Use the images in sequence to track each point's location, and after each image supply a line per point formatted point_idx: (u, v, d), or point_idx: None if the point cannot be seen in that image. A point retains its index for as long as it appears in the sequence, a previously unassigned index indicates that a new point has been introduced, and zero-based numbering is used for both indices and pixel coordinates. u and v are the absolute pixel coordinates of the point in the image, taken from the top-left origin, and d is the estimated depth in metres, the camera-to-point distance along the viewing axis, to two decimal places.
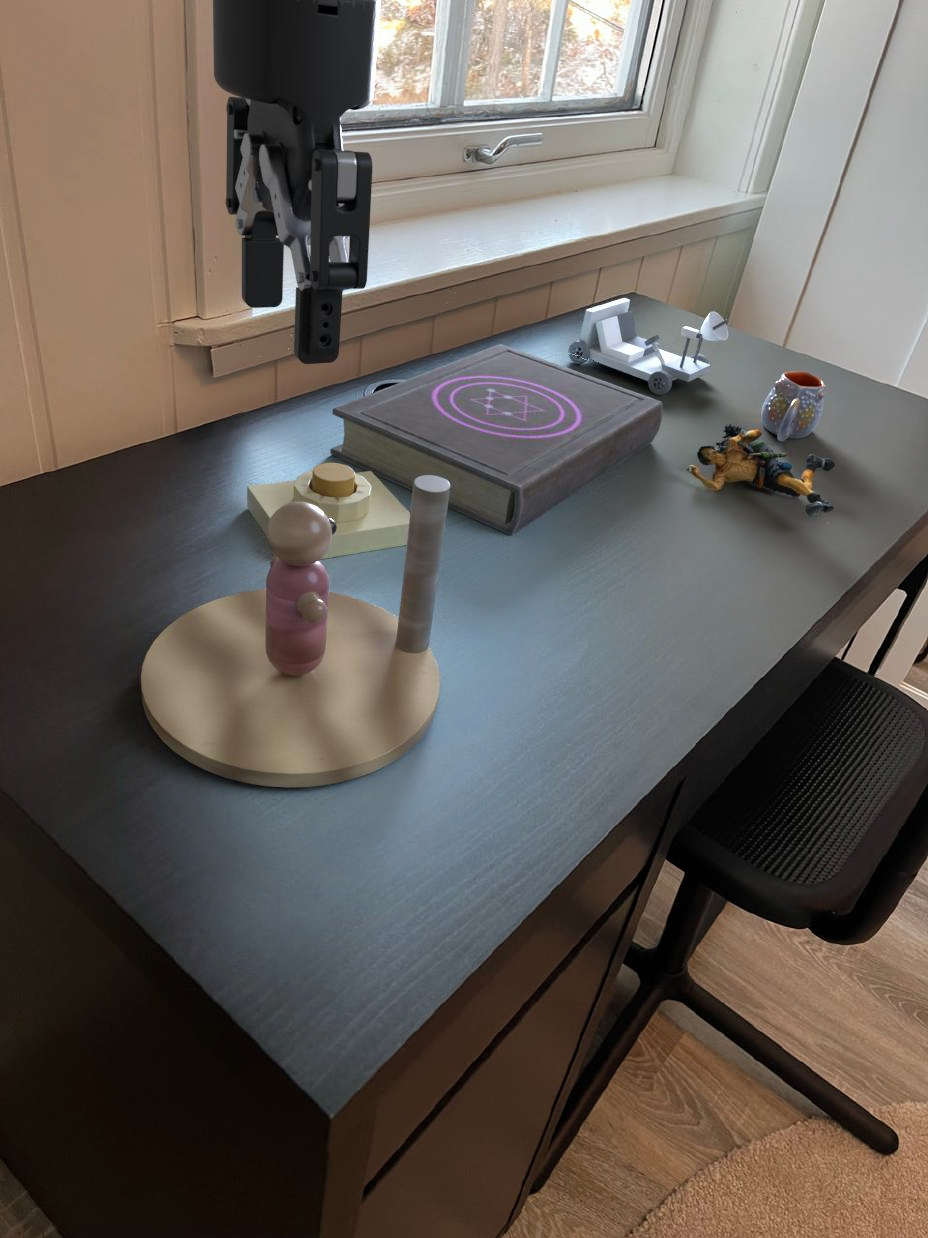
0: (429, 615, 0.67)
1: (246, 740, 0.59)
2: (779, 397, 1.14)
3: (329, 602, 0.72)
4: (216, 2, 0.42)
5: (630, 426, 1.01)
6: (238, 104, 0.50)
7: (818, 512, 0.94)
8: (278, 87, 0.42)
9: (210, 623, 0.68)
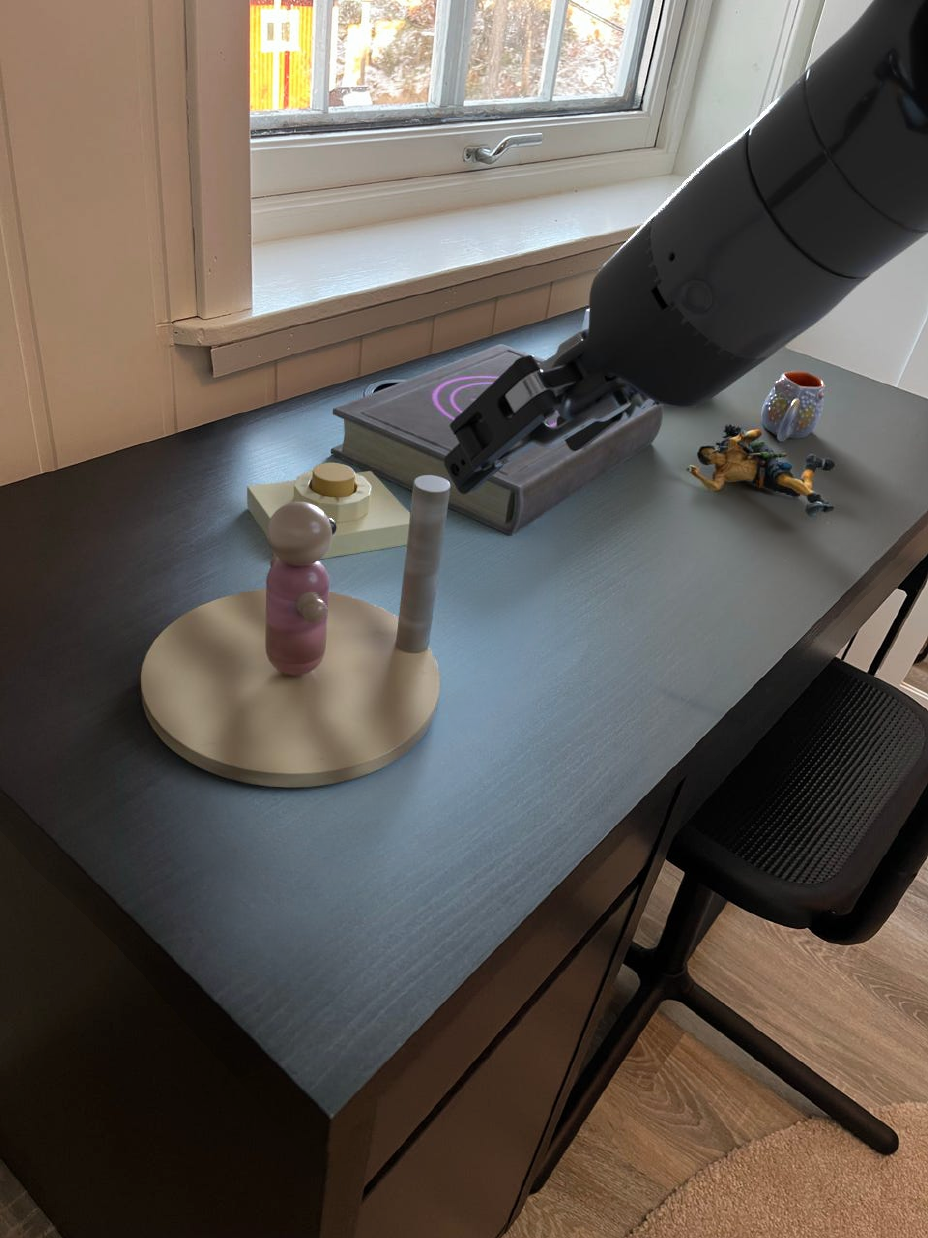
0: (429, 615, 0.67)
1: (246, 740, 0.59)
2: (779, 397, 1.14)
3: (329, 602, 0.72)
4: None
5: (630, 426, 1.01)
6: None
7: (818, 512, 0.94)
8: (594, 301, 0.40)
9: (210, 623, 0.68)
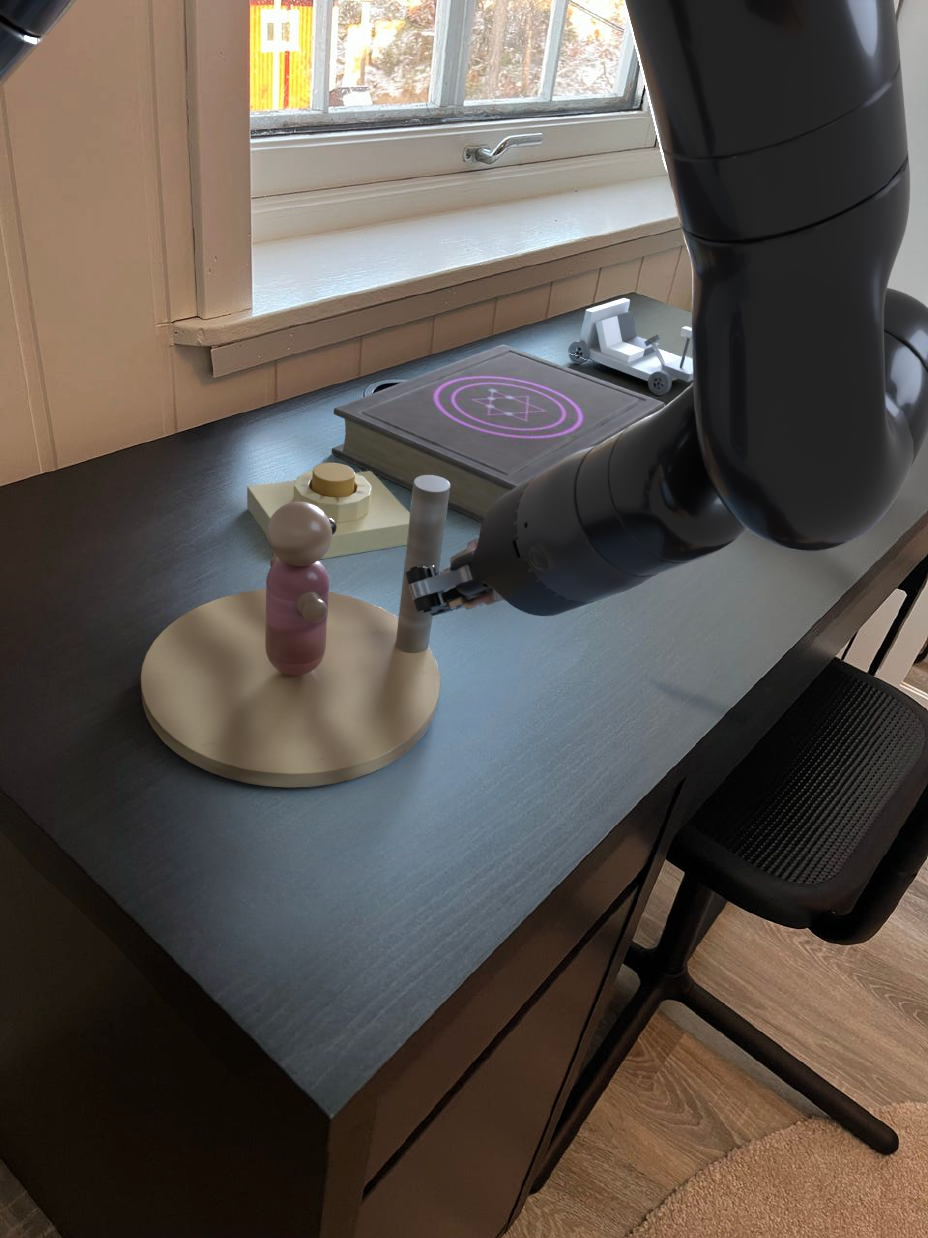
0: (429, 615, 0.67)
1: (246, 740, 0.59)
2: None
3: (329, 602, 0.72)
4: None
5: None
6: None
7: None
8: (483, 528, 0.52)
9: (210, 623, 0.68)
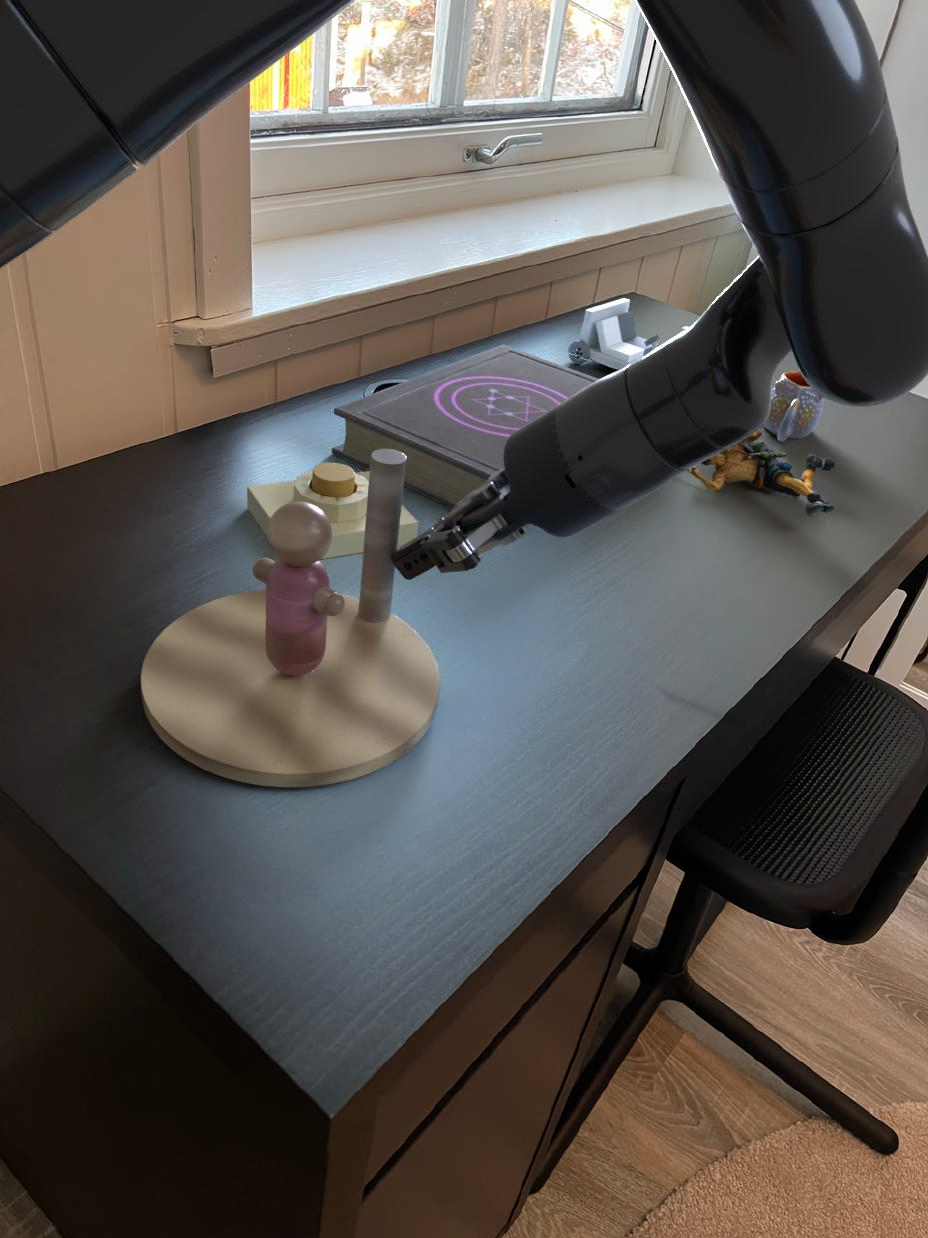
0: (393, 581, 0.70)
1: (307, 746, 0.59)
2: (779, 397, 1.14)
3: None
4: (547, 411, 0.58)
5: None
6: None
7: (818, 512, 0.94)
8: (513, 475, 0.58)
9: (180, 652, 0.65)
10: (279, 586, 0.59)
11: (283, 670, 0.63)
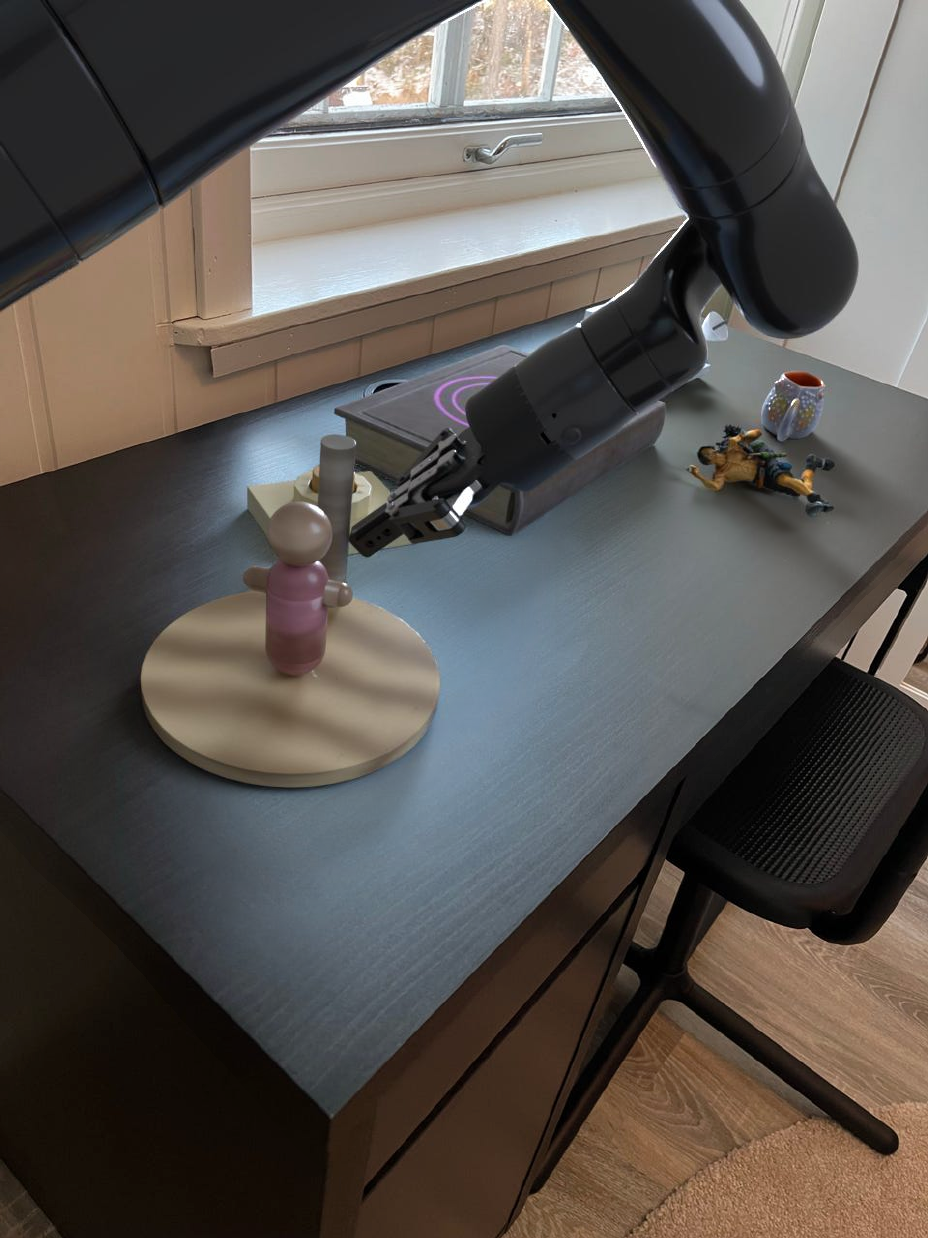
0: (347, 563, 0.71)
1: (356, 735, 0.61)
2: (779, 397, 1.14)
3: (226, 608, 0.70)
4: (503, 376, 0.62)
5: (632, 427, 1.01)
6: (451, 432, 0.71)
7: (818, 512, 0.94)
8: (487, 440, 0.62)
9: (175, 682, 0.62)
10: (290, 589, 0.59)
11: (294, 672, 0.63)
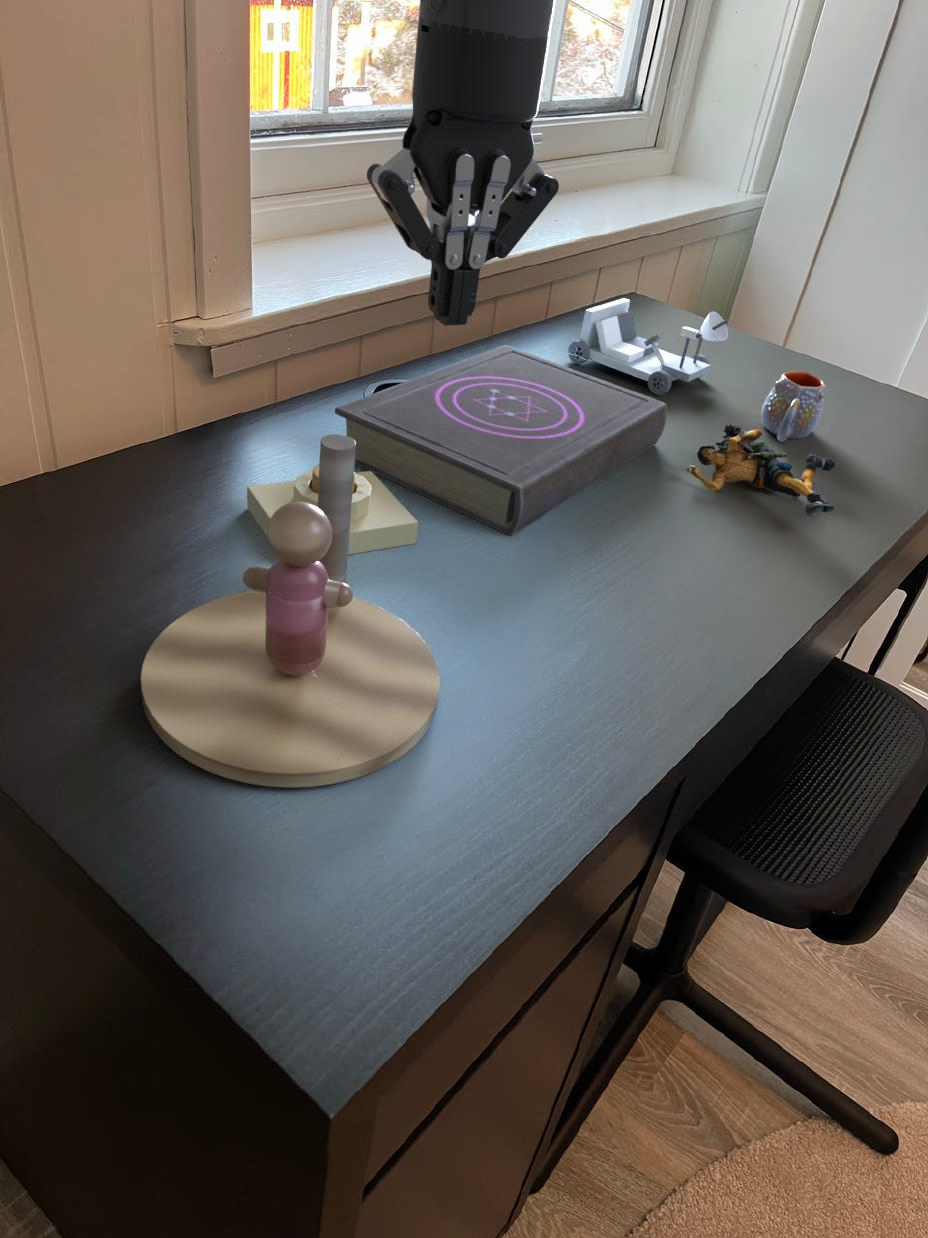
0: (347, 563, 0.71)
1: (356, 735, 0.61)
2: (779, 397, 1.14)
3: (226, 608, 0.70)
4: None
5: (633, 427, 1.01)
6: None
7: (818, 512, 0.94)
8: None
9: (175, 682, 0.62)
10: (290, 589, 0.59)
11: (294, 672, 0.63)
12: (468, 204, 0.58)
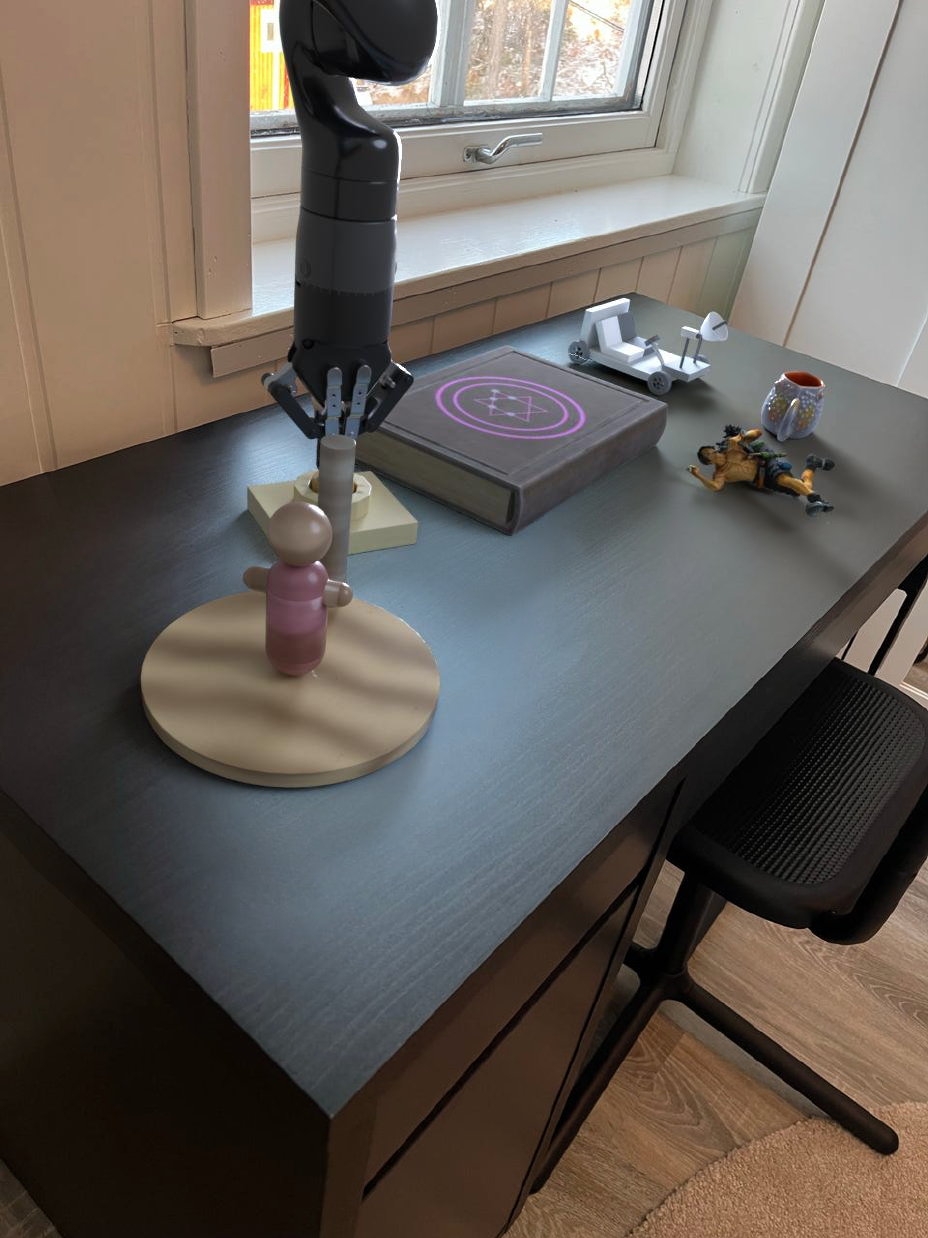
0: (347, 563, 0.71)
1: (356, 735, 0.61)
2: (779, 397, 1.14)
3: (226, 608, 0.70)
4: None
5: (634, 427, 1.01)
6: None
7: (818, 512, 0.94)
8: None
9: (175, 682, 0.62)
10: (290, 589, 0.59)
11: (294, 672, 0.63)
12: (339, 400, 0.76)
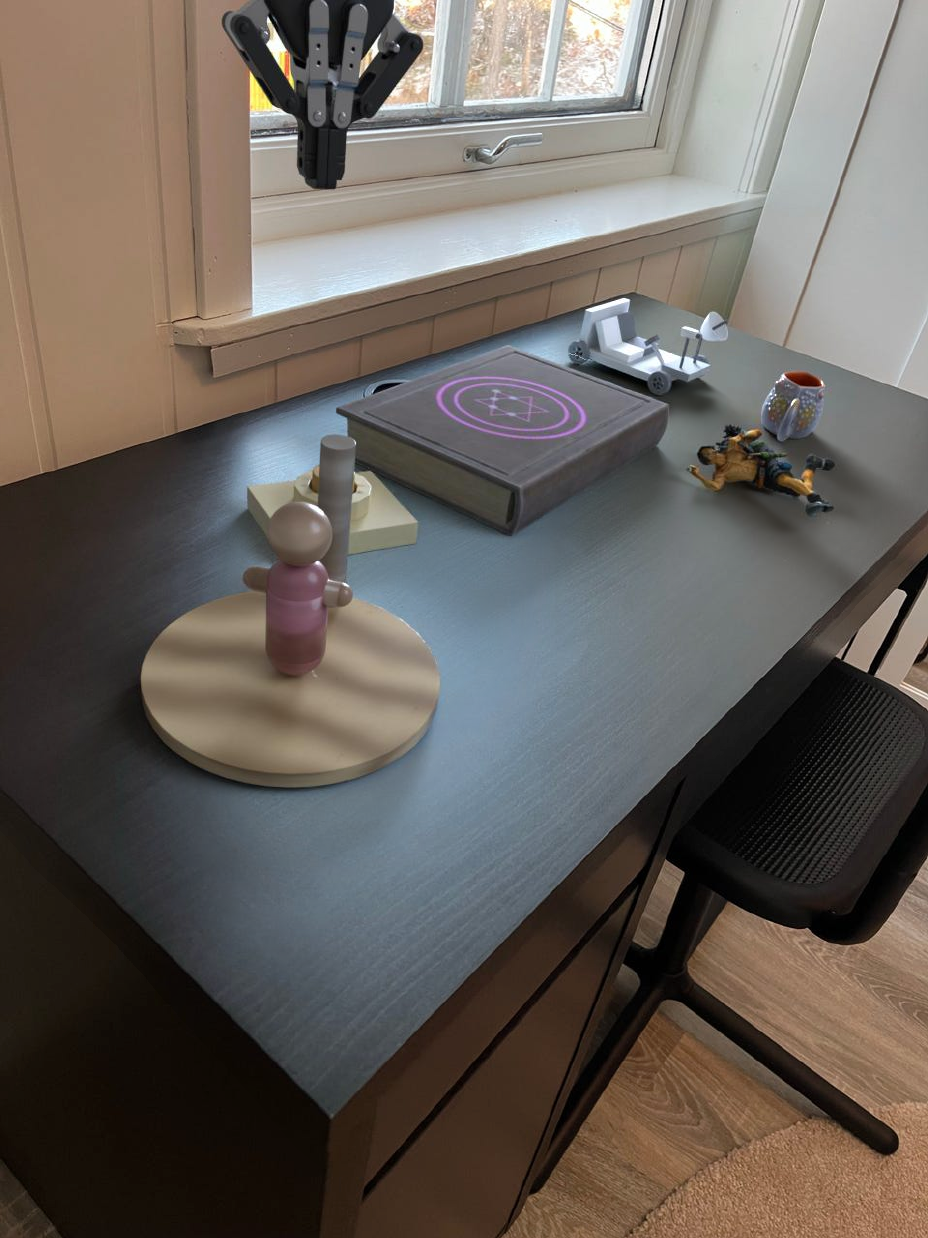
0: (347, 563, 0.71)
1: (356, 735, 0.61)
2: (779, 397, 1.14)
3: (226, 608, 0.70)
4: None
5: (635, 428, 1.01)
6: None
7: (818, 512, 0.94)
8: None
9: (175, 682, 0.62)
10: (290, 589, 0.59)
11: (294, 672, 0.63)
12: (326, 55, 0.58)
